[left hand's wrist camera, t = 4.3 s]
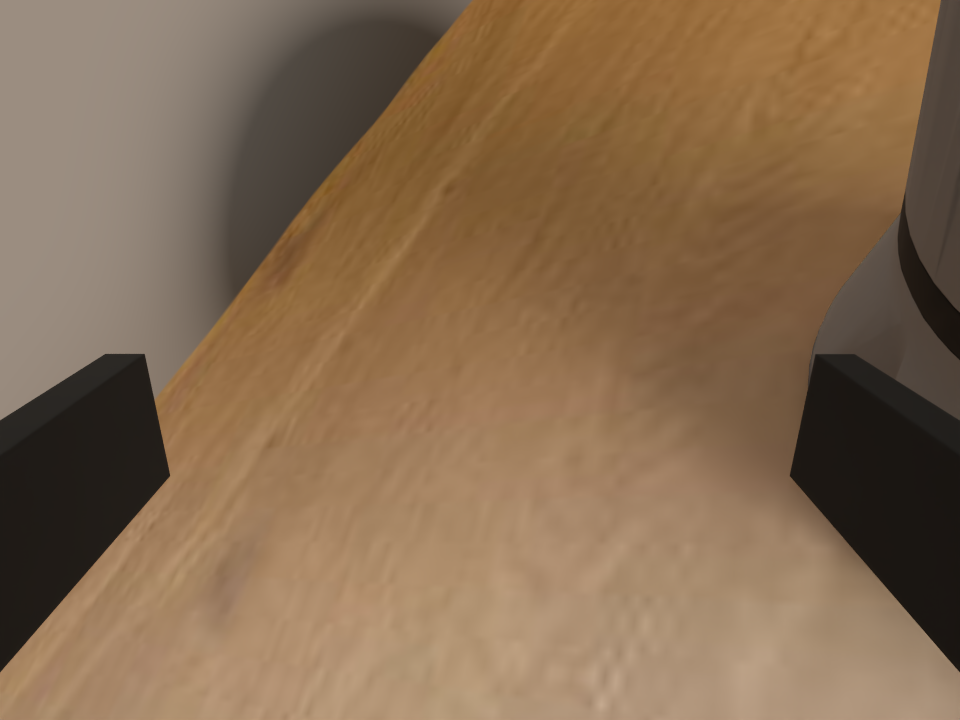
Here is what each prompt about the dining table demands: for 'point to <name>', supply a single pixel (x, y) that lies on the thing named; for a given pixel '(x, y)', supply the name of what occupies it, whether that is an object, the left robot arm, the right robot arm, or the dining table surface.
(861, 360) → the left robot arm
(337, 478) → the dining table surface
